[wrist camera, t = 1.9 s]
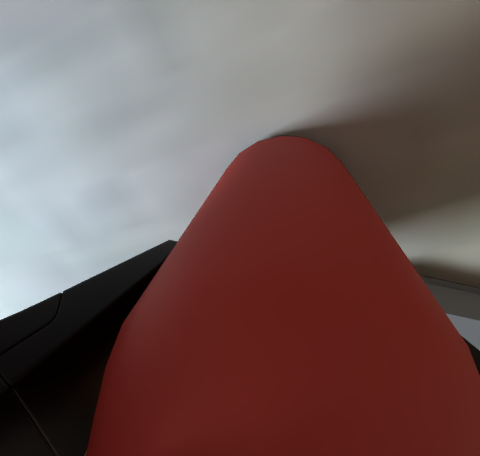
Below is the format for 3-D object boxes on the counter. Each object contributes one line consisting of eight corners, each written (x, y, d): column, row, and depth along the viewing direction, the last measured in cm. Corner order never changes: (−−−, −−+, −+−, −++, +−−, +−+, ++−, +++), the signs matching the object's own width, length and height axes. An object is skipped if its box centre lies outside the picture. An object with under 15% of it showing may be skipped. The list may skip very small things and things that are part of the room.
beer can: (357, 126, 11) (1411, 800, 1) (343, 249, 14) (491, 688, 4) (212, 139, 12) (-173, 444, 2) (229, 249, 15) (120, 582, 5)
